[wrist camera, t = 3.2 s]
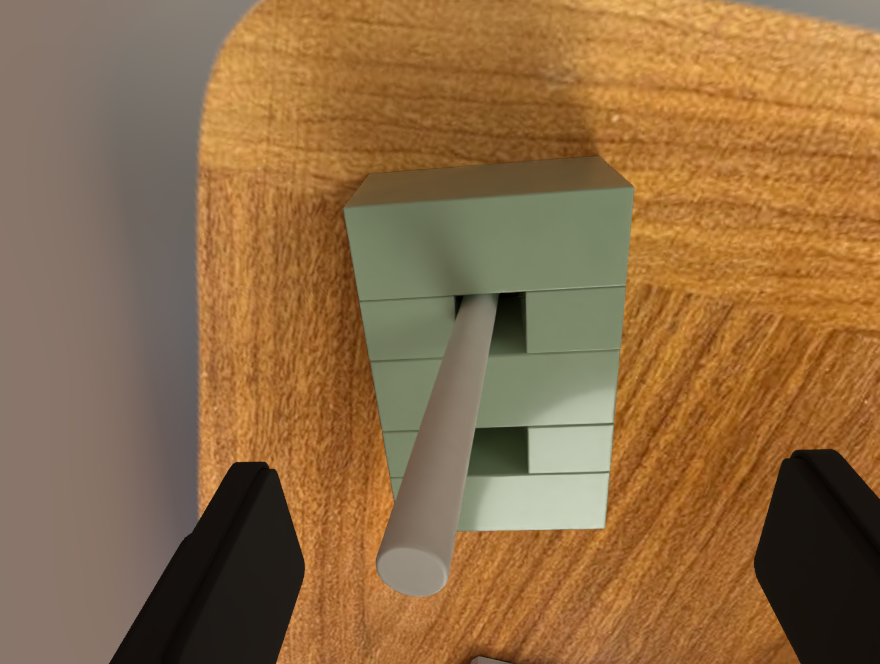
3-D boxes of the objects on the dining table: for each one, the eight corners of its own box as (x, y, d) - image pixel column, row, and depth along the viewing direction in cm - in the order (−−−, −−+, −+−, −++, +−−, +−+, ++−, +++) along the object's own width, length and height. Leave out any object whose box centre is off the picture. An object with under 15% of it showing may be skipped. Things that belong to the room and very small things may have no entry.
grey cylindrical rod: (473, 286, 21) (379, 595, 9) (471, 257, 21) (369, 542, 8) (503, 286, 21) (450, 602, 9) (502, 256, 20) (445, 548, 8)
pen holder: (584, 452, 25) (605, 529, 21) (410, 457, 26) (399, 533, 22) (600, 155, 19) (635, 185, 15) (368, 173, 19) (342, 207, 15)
